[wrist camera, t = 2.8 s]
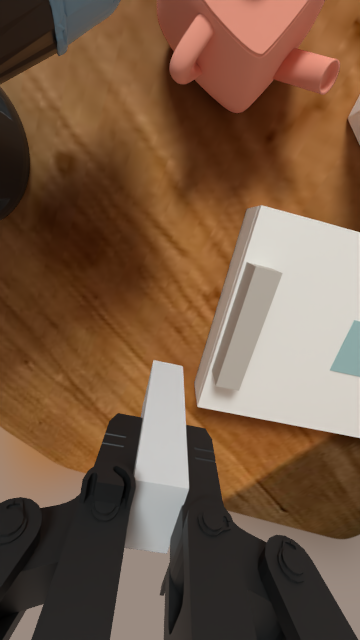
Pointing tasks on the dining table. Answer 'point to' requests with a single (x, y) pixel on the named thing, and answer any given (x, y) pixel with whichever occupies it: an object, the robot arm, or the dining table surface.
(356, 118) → the jar
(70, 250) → the dining table surface
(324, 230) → the lid
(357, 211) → the dining table surface
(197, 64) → the teapot
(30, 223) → the dining table surface
